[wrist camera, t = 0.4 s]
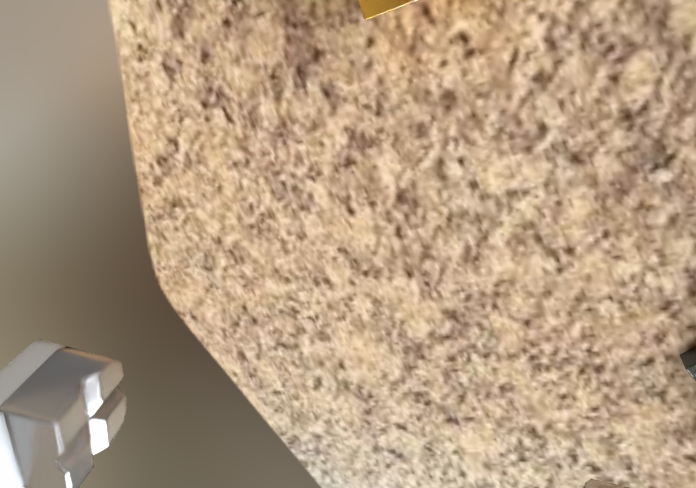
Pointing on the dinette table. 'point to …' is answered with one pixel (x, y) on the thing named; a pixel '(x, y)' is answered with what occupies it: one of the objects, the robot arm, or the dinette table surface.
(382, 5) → the yellow striped cube
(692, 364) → the slate board
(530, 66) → the dinette table surface
